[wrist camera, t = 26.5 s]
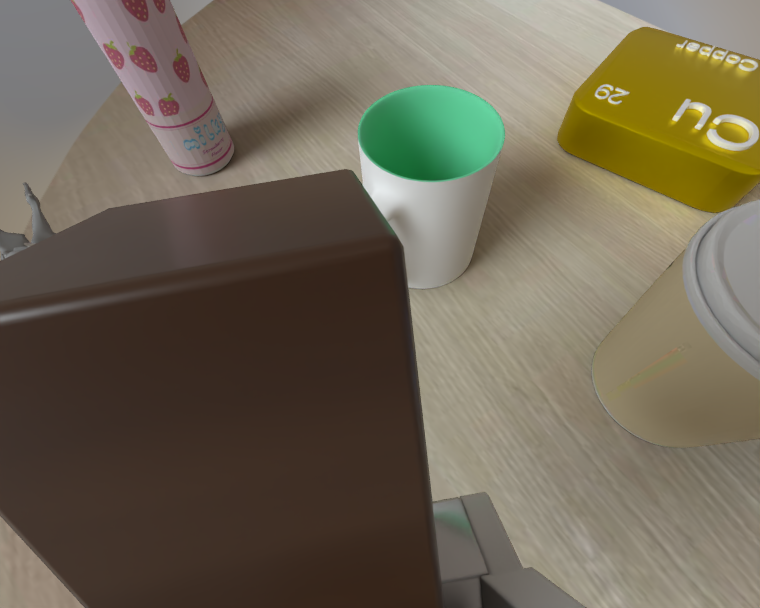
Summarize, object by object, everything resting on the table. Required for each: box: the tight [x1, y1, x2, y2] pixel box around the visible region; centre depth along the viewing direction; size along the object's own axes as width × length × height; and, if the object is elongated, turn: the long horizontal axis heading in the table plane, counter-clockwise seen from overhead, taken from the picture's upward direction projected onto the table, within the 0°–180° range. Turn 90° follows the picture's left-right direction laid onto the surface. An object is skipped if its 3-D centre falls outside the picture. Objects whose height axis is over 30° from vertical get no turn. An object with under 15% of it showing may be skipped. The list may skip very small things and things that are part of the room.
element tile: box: [557, 27, 760, 213], centre depth 33 cm, size 15×15×5 cm
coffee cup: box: [592, 199, 760, 448], centre depth 19 cm, size 9×9×12 cm
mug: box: [358, 85, 505, 289], centre depth 25 cm, size 12×8×10 cm
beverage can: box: [71, 0, 234, 176], centre depth 30 cm, size 6×6×15 cm
